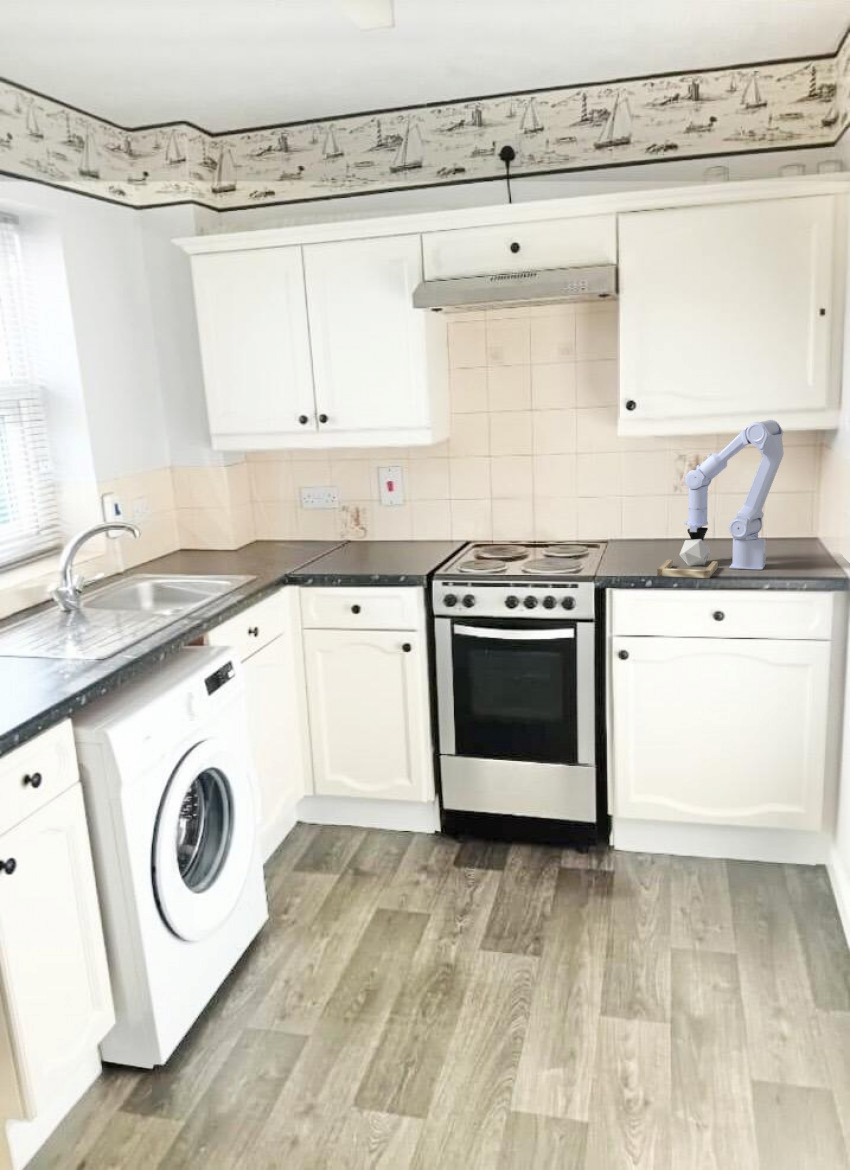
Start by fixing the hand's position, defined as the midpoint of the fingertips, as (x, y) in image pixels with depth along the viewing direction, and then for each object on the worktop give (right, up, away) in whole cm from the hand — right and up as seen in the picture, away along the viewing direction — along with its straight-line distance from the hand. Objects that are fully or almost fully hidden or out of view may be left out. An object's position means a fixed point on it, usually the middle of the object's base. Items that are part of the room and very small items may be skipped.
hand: (697, 551), depth 285 cm
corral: (-6, -7, -12) cm, 15 cm away
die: (-2, -5, -3) cm, 6 cm away
